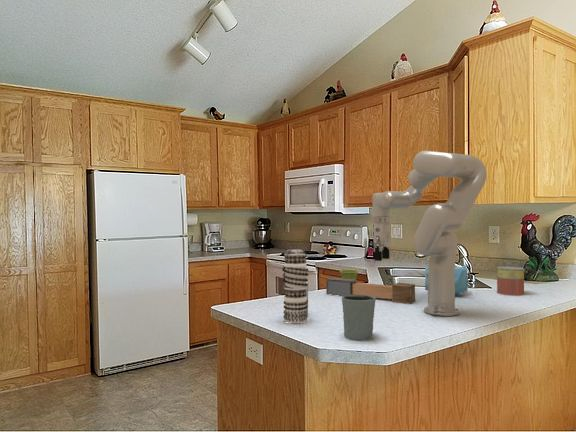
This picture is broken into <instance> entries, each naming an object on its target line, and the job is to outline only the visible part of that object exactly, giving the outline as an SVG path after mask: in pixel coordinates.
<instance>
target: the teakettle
mask: <svg viewBox="0 0 576 432" xmlns="http://www.w3.org/2000/svg"><path fill="white" fill-rule="evenodd" d="M468 266H469V265H466V264H465V265H462V266H455V297H462V294H461V293H468V288H469V287H468V279H469V278H468V268H467V267H468ZM424 273H425V274H424V275H425V276H424V283H425V284H424V286H425V287H424V288H425V289H424V290H425V291H427V292H428V263H426V266H425V267H424Z"/></svg>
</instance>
